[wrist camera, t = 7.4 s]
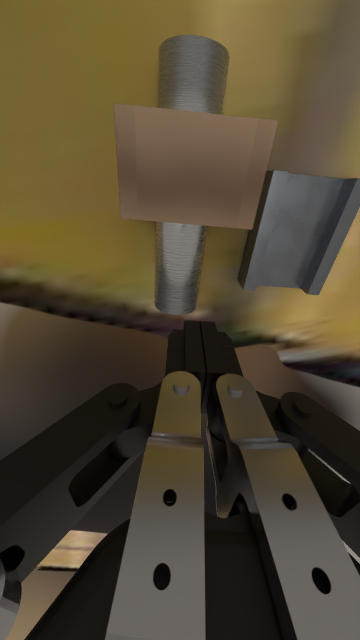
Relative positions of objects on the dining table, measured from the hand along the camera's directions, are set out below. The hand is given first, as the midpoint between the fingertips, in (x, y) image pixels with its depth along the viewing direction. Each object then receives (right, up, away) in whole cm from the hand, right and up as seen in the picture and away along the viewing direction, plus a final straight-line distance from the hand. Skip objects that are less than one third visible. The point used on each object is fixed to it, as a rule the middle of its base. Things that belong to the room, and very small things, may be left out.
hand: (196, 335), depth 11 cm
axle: (-1, +11, +9) cm, 15 cm away
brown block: (0, +13, +8) cm, 15 cm away
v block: (+10, +9, +10) cm, 17 cm away
